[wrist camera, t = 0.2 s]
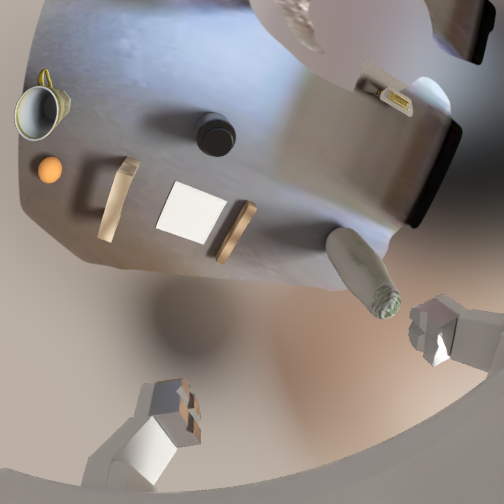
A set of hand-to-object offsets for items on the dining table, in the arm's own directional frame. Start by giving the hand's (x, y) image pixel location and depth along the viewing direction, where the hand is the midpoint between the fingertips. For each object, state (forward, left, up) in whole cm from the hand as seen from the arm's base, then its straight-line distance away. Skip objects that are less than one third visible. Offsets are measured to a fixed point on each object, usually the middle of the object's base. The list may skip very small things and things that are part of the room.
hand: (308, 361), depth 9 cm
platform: (-25, +32, -53) cm, 66 cm away
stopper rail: (+21, +17, -52) cm, 59 cm away
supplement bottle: (+2, +2, -52) cm, 52 cm away
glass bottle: (+12, +43, -52) cm, 69 cm away
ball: (+21, -27, -49) cm, 60 cm away
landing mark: (+21, +6, -52) cm, 56 cm away
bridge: (+21, -10, -52) cm, 57 cm away
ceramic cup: (+7, -31, -52) cm, 61 cm away
